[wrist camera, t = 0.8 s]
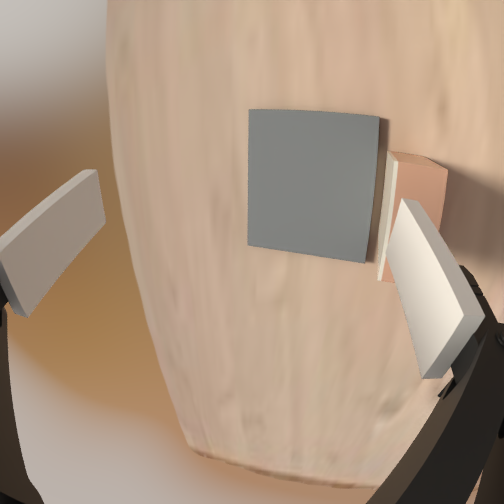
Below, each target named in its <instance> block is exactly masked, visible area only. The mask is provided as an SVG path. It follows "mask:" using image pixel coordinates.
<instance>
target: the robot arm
mask: <svg viewBox="0 0 504 504" xmlns="http://www.w3.org/2000/svg"><path fill="white" fill-rule="evenodd" d="M105 223H106V219H105V214H104V208H103V203H102V197H101V191H100V185H99V179H98V172H97V170H83V171H81V172H80V173H79V174H77V175H76V176H75V177H73V178H72V179H70V180H69V181H68V182H67V183H65V184H64V185H62V186H61V187H60V188H58V189H57V190H56V191H55V192H53V193H52V194H51V195H49V196H48V197H47V198H46V199H44V200H43V201H42V202H41V203H39V204H38V205H37V206H36V207H35V208H33V209H32V210H31V211H30V212H29V213H27V214H26V215H25V216H24V217H23V218H22V219H20V220H19V221H18V222H17V223H16V224H15V225H14V226H12V228H10V229H9V230H8V231H7V232H6V233H5V234H4V235H3V236H1V237H0V504H44V502H43V500H42V498H41V496H40V494H39V493H38V491H37V490H36V488H35V487H34V486H33V485H32V483H31V482H30V480H29V478H28V476H27V473H26V469H25V465H24V461H23V457H22V453H21V448H20V444H19V438H18V434H17V428H16V422H15V416H14V409H13V402H12V395H11V386H10V375H9V362H8V342H7V312H6V310H5V308H4V306H5V304H6V303H7V302H9V304H10V306H11V308H12V310H13V311H14V313H15V314H18V315H21V316H24V317H27V318H28V317H29V315H30V314H31V313H32V311H33V310H34V309H35V307H36V306H37V304H38V303H39V302H40V300H41V299H42V298H43V296H44V295H45V294H46V293H47V291H48V290H49V289H50V288H51V286H52V285H53V284H54V283H55V281H56V280H57V279H58V278H59V276H60V275H61V274H62V273H63V271H64V270H65V269H66V268H67V267H68V265H69V264H70V263H71V262H72V261H73V259H74V258H75V257H76V256H77V255H78V254H79V252H80V251H81V250H82V249H83V248H84V247H85V245H86V244H87V243H88V242H89V241H90V240H91V239H92V237H93V236H94V235H95V234H96V233H97V232H98V231H99V230H100V229H101V228H102V226H103V225H104V224H105ZM385 254H386V257H387V260H388V263H389V266H390V269H391V272H392V275H393V278H394V281H395V284H396V287H397V290H398V293H399V296H400V300H401V303H402V306H403V309H404V313H405V316H406V320H407V323H408V327H409V330H410V334H411V338H412V342H413V345H414V349H415V353H416V357H417V361H418V366H419V370H420V374H421V379H433V378H442V377H443V376H444V375H445V373H446V372H447V371H448V369H449V368H450V367H451V368H452V372H453V375H454V377H453V378H452V379H451V380H450V382H449V383H448V384H447V385H446V386H445V388H444V389H443V390H442V391H441V392H440V393H439V395H438V397H440V399H439V401H438V403H437V404H436V406H435V408H434V410H433V411H432V413H431V415H430V416H429V418H428V420H427V421H426V423H425V424H424V426H423V428H422V429H421V431H420V432H419V434H418V435H417V437H416V438H415V440H414V441H413V443H412V444H411V446H410V447H409V449H408V450H407V452H406V453H405V454H404V456H403V457H402V459H401V460H400V461H399V463H398V464H397V465H396V467H395V468H394V469H393V471H392V472H391V473H390V475H389V476H388V477H387V479H386V480H385V481H384V482H383V484H382V485H381V486H380V487H379V489H378V490H377V491H376V492H375V494H374V495H373V496H372V497H371V498H370V500H369V501H368V502H367V503H366V504H466V502H467V500H468V498H469V496H470V494H471V492H472V490H473V489H474V487H475V485H476V483H477V481H478V478H479V476H480V474H481V472H482V470H483V472H482V476H481V480H480V484H479V488H478V492H477V495H476V499H475V502H474V504H504V324H503V323H498V322H497V320H496V318H495V316H494V314H493V312H492V310H491V308H490V306H489V304H488V302H487V300H486V298H485V296H483V293H482V291H481V289H480V288H479V287H478V286H479V285H478V284H477V282H476V280H475V278H474V276H473V275H472V274H471V273H470V272H469V271H468V270H467V269H466V268H465V267H464V266H461V265H458V263H457V262H456V260H455V258H454V256H453V255H452V253H451V251H450V250H449V248H448V246H447V245H446V243H445V241H444V240H443V238H442V237H441V235H440V233H439V232H438V230H437V229H436V227H435V226H434V224H433V222H432V221H431V219H430V218H429V216H428V215H427V213H426V212H425V210H424V209H423V207H422V206H421V205H420V203H419V202H418V201H416V200H411V199H405V198H402V199H401V202H400V206H399V210H398V213H397V217H396V220H395V223H394V227H393V230H392V233H391V237H390V240H389V243H388V246H387V249H386V252H385Z"/></svg>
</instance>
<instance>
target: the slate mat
mask: <svg viewBox="0 0 504 504" xmlns="http://www.w3.org/2000/svg"><path fill="white" fill-rule="evenodd" d="M378 138H379V117H377V116H368V115H359V114H348V113H336V112H322V111H304V110H268V109H249V139H248V245H249V246H255V247H262V248H268V249H275V250H281V251H288V252H294V253H301V254H307V255H314V256H320V257H326V258H333V259H339V260H346V261H352V262H358V263H365V259H366V252H367V245H368V238H369V231H370V223H371V216H372V207H373V198H374V188H375V178H376V166H377V153H378Z"/></svg>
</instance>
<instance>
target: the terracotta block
mask: <svg viewBox="0 0 504 504" xmlns="http://www.w3.org/2000/svg"><path fill="white" fill-rule="evenodd" d="M447 176H448V170H447V169H445V168H444V167H442V166H440V165H438V164H436V163H435V162H433V161H431V160H429V159H427V158H425V157H424V156H418V155H412V154H406V153H399V152H392V151H387V159H386V171H385V181H384V191H383V200H382V208H381V216H380V224H379V231H378V279H377V280H379V281H385V282H392V283H395V281H394V278H393V275H392V272H391V269H390V266H389V263H388V260H387V257H386V254H385V252H386V249H387V246H388V243H389V240H390V237H391V233H392V230H393V227H394V223H395V220H396V217H397V213H398V210H399V206H400V202H401V199H402V198H405V199H411V200H416V201H418V202H419V203H420V205H421V206H422V207H423V209H424V210H425V212H426V213H427V215H428V216H429V218H430V219H431V221H432V222H433V224H434V226H435V227H436V229H437V230H438V232H439V229H440V223H441V217H442V211H443V205H444V199H445V192H446V184H447Z"/></svg>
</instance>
